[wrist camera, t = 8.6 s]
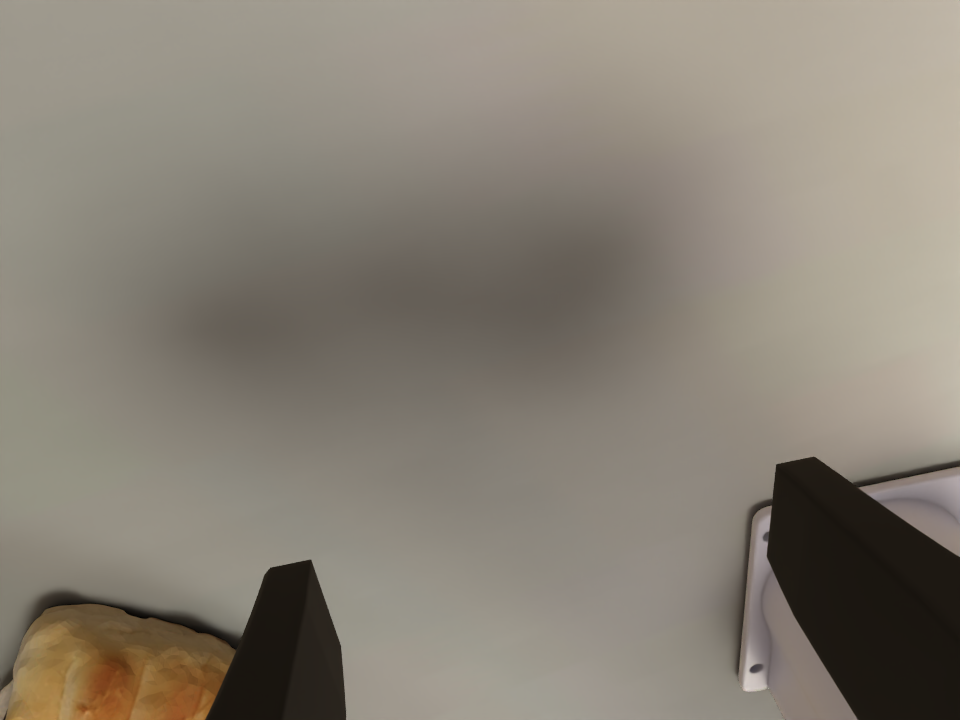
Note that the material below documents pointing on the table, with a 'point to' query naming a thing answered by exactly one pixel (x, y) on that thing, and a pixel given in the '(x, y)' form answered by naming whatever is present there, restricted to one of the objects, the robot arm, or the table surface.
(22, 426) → the table surface
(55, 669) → the pastry
